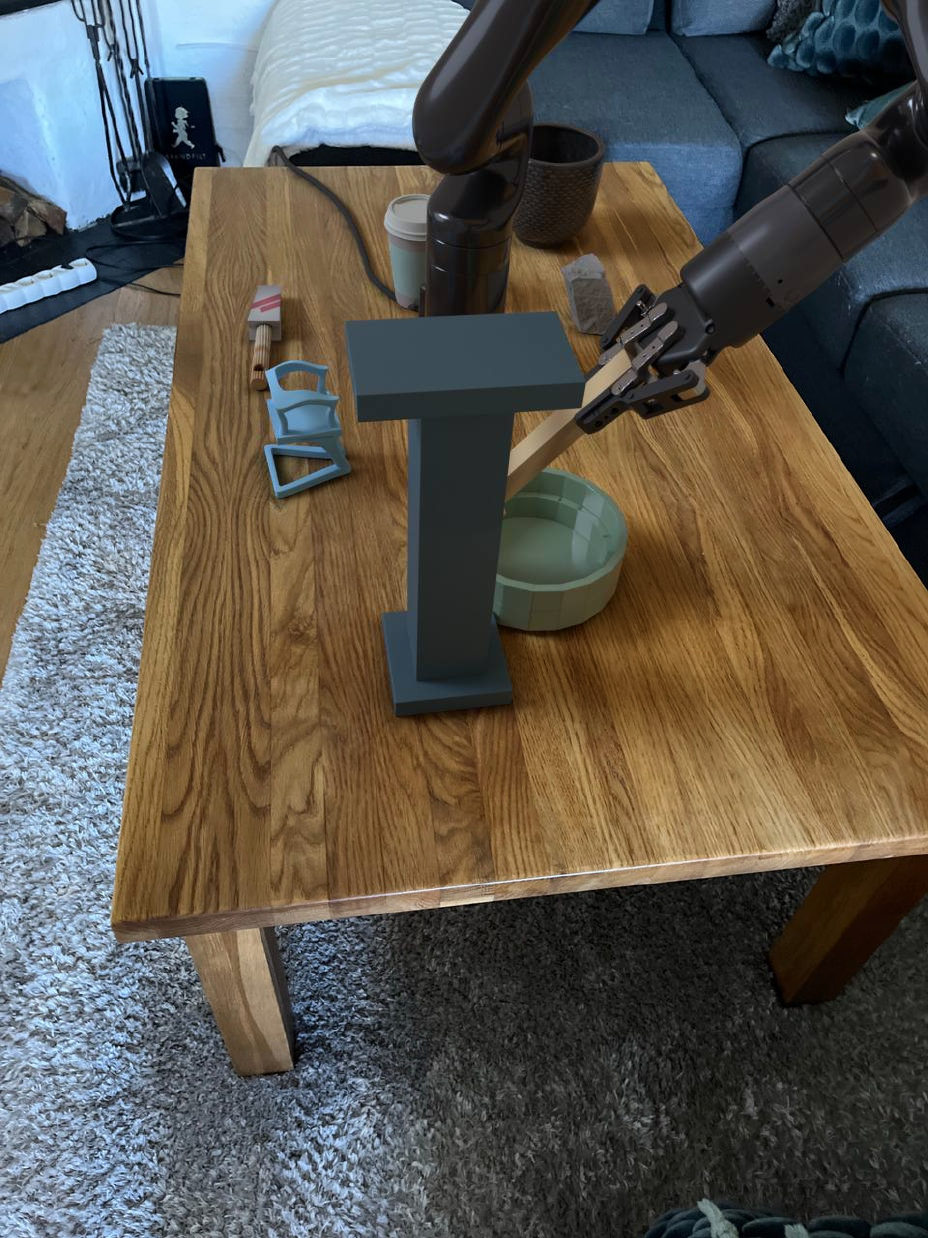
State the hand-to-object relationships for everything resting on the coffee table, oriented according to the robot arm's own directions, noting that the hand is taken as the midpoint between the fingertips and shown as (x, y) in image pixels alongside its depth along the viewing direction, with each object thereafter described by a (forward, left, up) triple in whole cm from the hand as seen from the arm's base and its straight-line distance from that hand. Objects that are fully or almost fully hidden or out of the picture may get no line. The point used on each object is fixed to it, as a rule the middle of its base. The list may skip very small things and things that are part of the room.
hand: (577, 414), depth 76 cm
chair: (-27, -10, -19) cm, 34 cm away
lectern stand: (+2, -15, -19) cm, 24 cm away
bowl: (-2, -1, -19) cm, 19 cm away
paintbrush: (-49, -1, -19) cm, 53 cm away
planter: (-50, +45, -19) cm, 70 cm away
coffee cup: (-47, +20, -19) cm, 54 cm away
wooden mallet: (-1, -2, -4) cm, 5 cm away
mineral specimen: (-30, +34, -19) cm, 49 cm away
